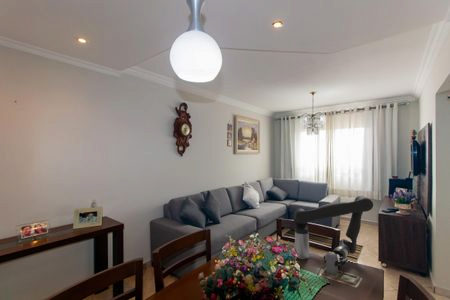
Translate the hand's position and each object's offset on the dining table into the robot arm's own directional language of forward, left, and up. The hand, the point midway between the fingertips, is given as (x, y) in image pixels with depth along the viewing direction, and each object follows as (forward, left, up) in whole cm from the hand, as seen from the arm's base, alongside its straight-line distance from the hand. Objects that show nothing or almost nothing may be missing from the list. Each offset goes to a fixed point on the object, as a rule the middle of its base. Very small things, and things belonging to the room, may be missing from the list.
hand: (330, 263), depth 136 cm
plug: (0, +3, -7) cm, 7 cm away
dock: (+4, +3, -8) cm, 9 cm away
